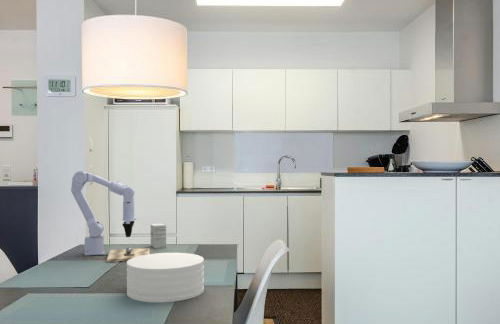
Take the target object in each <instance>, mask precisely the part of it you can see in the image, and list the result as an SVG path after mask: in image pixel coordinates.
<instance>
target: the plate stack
mask: <svg viewBox="0 0 500 324" xmlns="http://www.w3.org/2000/svg"><path fill="white" fill-rule="evenodd" d="M204 264H205V259H204V257H203V256H202V255H199V254H194V253H187V252H161V253H160V252H158V253H157V252H155V253H150V254H148V255H142V256H138V257H134V258H132V259H130V260H128V261H126V267H127V268H126V274H127V275H126V295H127V296H128V298H129V299H132V300H135V301H138V302H139V301H140V302H144V303H146V302H147V303H168V302H169V303H170V302H171V303H173V302H180V301H185V300H189V299H192V298H195V297H198V296H200V295H202V293H204V292H205V285H204V284H205V278H204V277H205V272H204V270H205V265H204Z"/></svg>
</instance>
